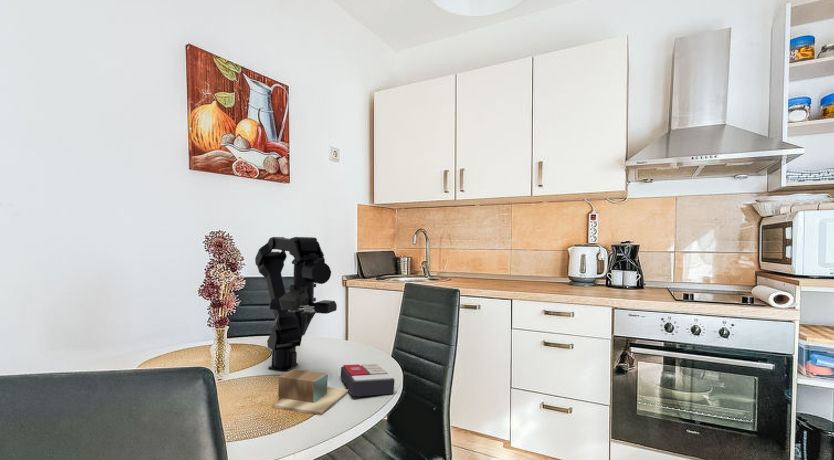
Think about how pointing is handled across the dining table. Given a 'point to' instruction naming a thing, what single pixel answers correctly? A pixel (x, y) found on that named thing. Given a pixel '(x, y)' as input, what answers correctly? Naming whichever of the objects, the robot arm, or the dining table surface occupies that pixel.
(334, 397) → the beige cloth
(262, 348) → the dining table surface
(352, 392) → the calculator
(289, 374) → the walnut block
